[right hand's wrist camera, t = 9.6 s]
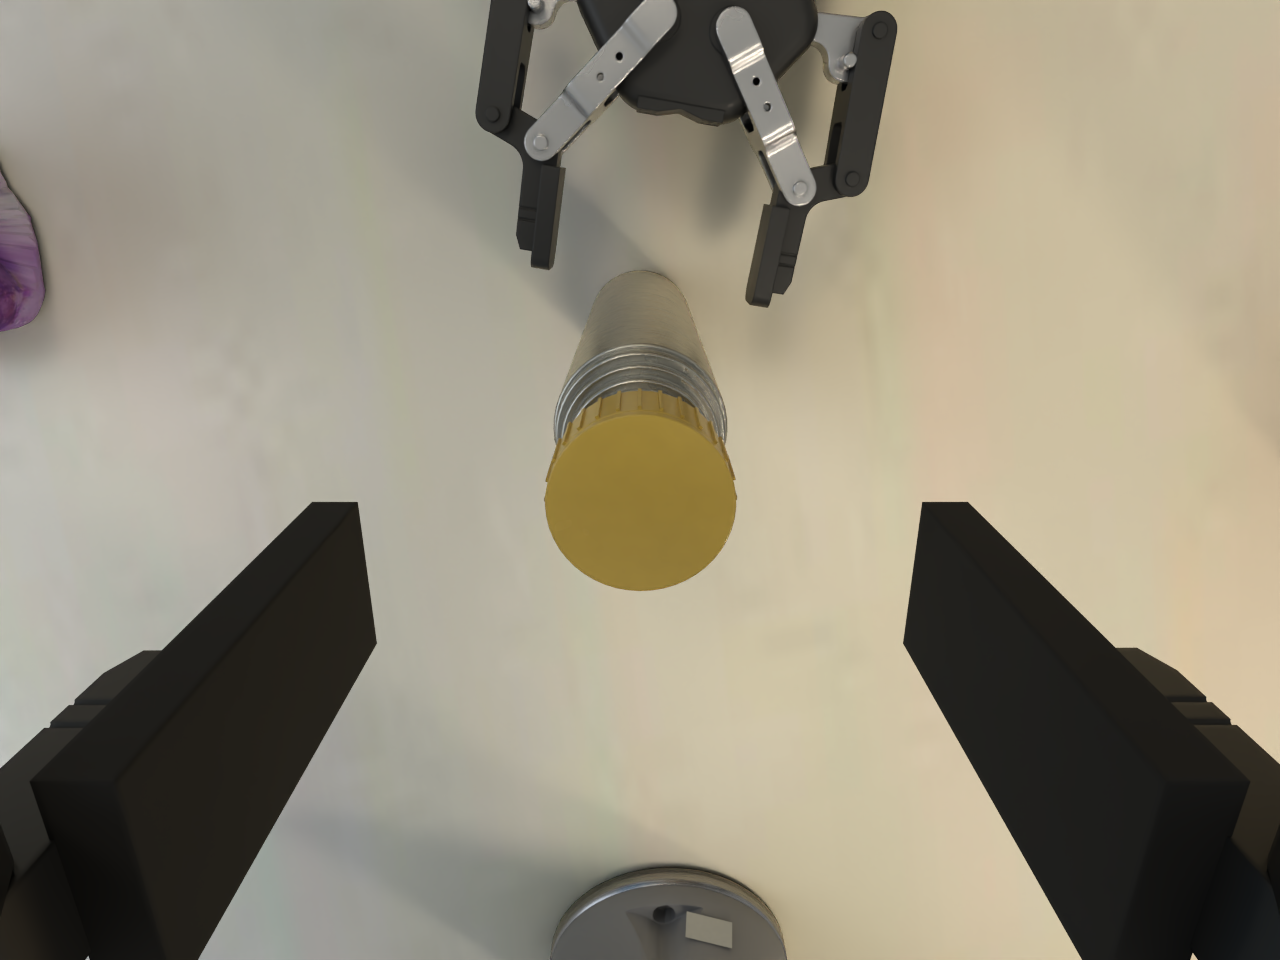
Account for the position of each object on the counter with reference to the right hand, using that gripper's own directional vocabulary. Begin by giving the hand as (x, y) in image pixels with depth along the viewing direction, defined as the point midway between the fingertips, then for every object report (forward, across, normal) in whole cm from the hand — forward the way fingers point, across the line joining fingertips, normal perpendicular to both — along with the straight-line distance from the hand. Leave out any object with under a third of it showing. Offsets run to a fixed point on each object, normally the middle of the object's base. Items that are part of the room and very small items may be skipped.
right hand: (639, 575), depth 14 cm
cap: (+3, 0, 0) cm, 3 cm away
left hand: (+20, 0, +2) cm, 20 cm away
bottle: (+26, 0, 0) cm, 26 cm away
